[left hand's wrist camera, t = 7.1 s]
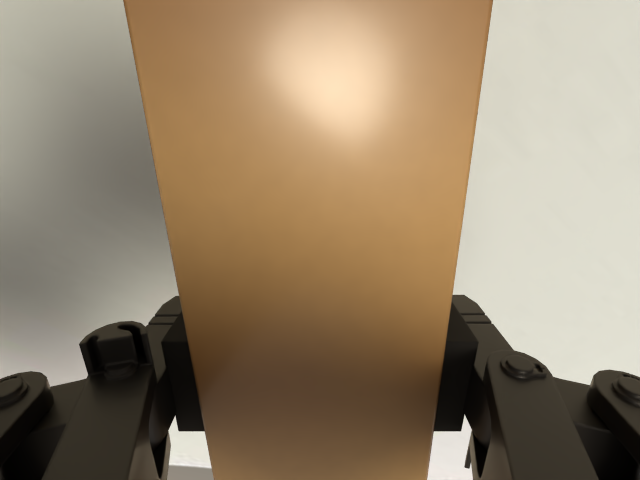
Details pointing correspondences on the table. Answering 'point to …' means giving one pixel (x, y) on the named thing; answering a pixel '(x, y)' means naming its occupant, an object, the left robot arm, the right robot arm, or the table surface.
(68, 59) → the table surface
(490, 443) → the left robot arm
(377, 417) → the wooden beam
